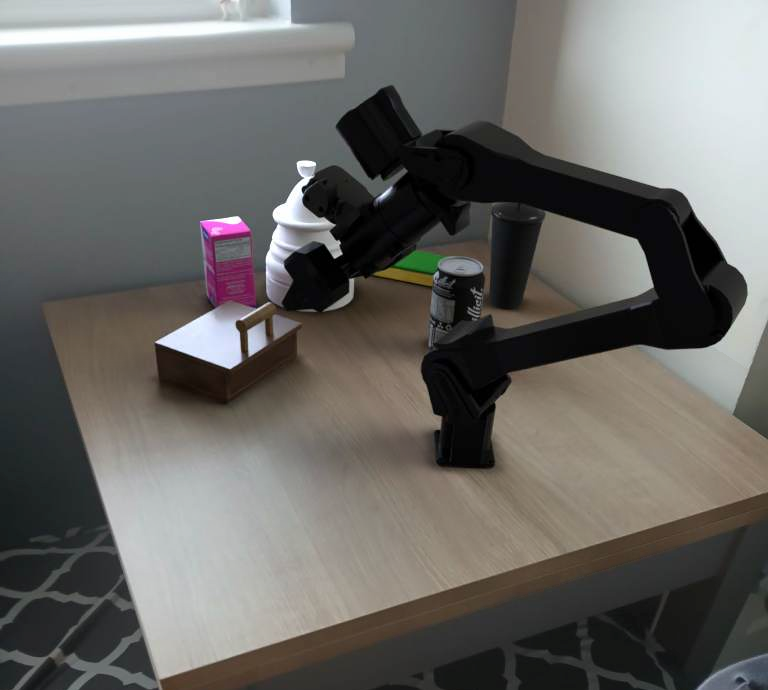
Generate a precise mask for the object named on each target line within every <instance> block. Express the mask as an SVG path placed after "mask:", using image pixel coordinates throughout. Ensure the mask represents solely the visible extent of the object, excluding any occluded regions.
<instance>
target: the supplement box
mask: <svg viewBox="0 0 768 690" xmlns="http://www.w3.org/2000/svg"><path fill="white" fill-rule="evenodd" d="M199 226H200V237H201V239H200V240H201V248H202V258H203V269H204V279H205V289H206V298H207V299H208V300H209V301H210V303H211V304H212V306H213V307H214V309H215V308H217V307H219V306H221V305H222V304H224V303H226V302H228V301H230V300H231V301H234V302H237V303H240V304H243V305H246V306H250V307H253V308H256V309H257V301H256V300H257V299H256V285H255V283H256V282H255V270H254V253H253V236H252V230H251V229H250V228H249V227H248V226H247V224H245V222H244V221H243V220H242V219H241V218H240V216H238V215H237V216H231V217H223V218H219V219H218V218H217V219H209V220H201V221H199Z"/></svg>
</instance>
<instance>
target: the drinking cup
mask: <svg viewBox="0 0 768 690" xmlns="http://www.w3.org/2000/svg"><path fill="white" fill-rule="evenodd" d="M490 215H491V216H492V217H491V239H490V240H491V242H490V269H489V270H490V271H489V296H488V299H489V300H488V301H489V304H491V306H493V307H494V308H495V307H496V308H498V309H501V310H502V309H503V310H514V309H518V308H520V307H521V306H522V303H523V301H524V296H525V291H526V289H527V284H528V281H529V277H530V272H531V268H532V264H533V260H534V256H535V253H536V248H537V245H538V242H539V236H540V233H541V229H542V224H543V222H544V221H545V219H546V215H547V214H546V211H544V210H540V209H537V208H534V207H531V206H528V205H524V204H520V203H511V202H503V203H495V204H494V205H492V206H491V208H490Z"/></svg>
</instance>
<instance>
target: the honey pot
mask: <svg viewBox="0 0 768 690" xmlns="http://www.w3.org/2000/svg"><path fill="white" fill-rule="evenodd" d="M296 167H297V171H298V174H299V175H300V176H301V178H303V179H302V180H300V181H299V182H298V183H297V184H296V185H295V186H294V187H293V189H292V190H291V192H290V194H289V196H288V198H287V200H286V202H285V203H282V204H280V205H278V206H276V208H275V209H273V212H272V217H273V220H274V222H275V223H277V226H276V228H275V230H274V231H273V234H272V236H271V237H272V238H271V239H272V240H271V242H270V245H269V250H268V252H267V254H266V257H265V264H266V265H265V269H266V271H265V277H266V278H265V283H266V285H265V287H266V295H267V298H268V299H269V300H270V302H271V303H273V304H274V305H277V306H279V307H282V308H284V307H283V306H282V301H283V299H284V297H285V295H286V293H287V291H288V290H289V288H290V286H291V284H292V282H293V279H292V278H291V276H290V275H289V274H288V272H287V271H286V269H285V268H284V260H285V259H286V258H287V257H289V256H290V255H291V254H292V253H293V252H294V251H296V250H298V249H299V248H301V247H303V246H305V245H307V244H309V243H311V242H312V241H316V242H319V243H323V244H325V246H326V247H327V249H328V250H329V251H330V253H331V254H332V256H333V257H334V259H335V258H337V257H338V256H340V255H342V252H341V249H340V246H339V244H340V241H339V240H338V241H336V240H335V239H334V237H333V236H332V234H331V233H330V230H331V229H332V228H333V227H334V226H335V224H332V223H330V222H329V221H328V220H327V219H325V218H324V217H323V218H318V217H317V216H315V215H314V214H313V213H312V212H310V211H309V210H308V209H307V208H306V207H304V205H303V203H302V197H303V195H304V194H303V193H302V190H301V188H302V187H303V186H304V185H306V184H307V183H308V182H309V179H311V178H313V176H314V173H315V172H316V168H317V163H316V162H315V161H311V160H299V161H297V162H296ZM349 281H350V284H349V293H348V294H347V295H346V296H344V297H343V298H342V299H340V300H339V301H338V302H336V303H335V304H333V305H332V306H330V307H329V308H327V309H326V310H324V311H323V312H327V311H334V310H337V309H340V308H342V307H345V306H346V305H348V304H350V302H351V301H352V300H353V299H354V295H355V294H354V293H355V278H352V279H349ZM296 311H297V312H304V313H307V312H308V313H318V312H317V311H315V310H314V309H308V310H296Z"/></svg>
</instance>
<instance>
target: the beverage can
mask: <svg viewBox="0 0 768 690" xmlns="http://www.w3.org/2000/svg"><path fill="white" fill-rule="evenodd" d="M483 270H484V265H483V264H482V263H481V262H480V261H479V260H477V259H475V258H472V257H467V256H461V255H460V256H459V255H453V256H446V258H443V259H441V260H440V261H439V262H438V268H437V269H436V271H435V272H434V276H433V287H432V286H431V298H430V299H431V300H430V311H429V321H428V330H427V341H426V342H427V343H426V344H427V348H429V351H430V350H432V349H433V348H434V347H435V346H434V343H435V342H436V341H438V340H439V339H440V338H441V337H442V336H444V335H445V334H446V333H447V332H449V331H450V330H451V329H452V328H453V327H455V326H456V325H457V324H458V323H459V322H461V321H462V320H464V321H475V320H478V319H480V318H481V316H482V315H481V314H482V308H483V307H482V306H483V299H484V292H485V284H486V276H485V274H484V271H483Z"/></svg>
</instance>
